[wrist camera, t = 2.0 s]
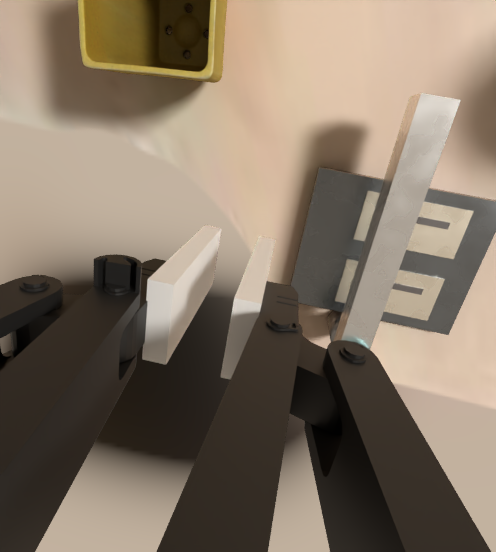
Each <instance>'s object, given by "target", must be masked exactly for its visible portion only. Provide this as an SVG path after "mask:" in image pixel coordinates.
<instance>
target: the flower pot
mask: <svg viewBox="0 0 496 552" xmlns="http://www.w3.org/2000/svg"><path fill="white" fill-rule="evenodd" d="M187 5H191V6H192V11H191V12H190V13H188V12H187V11H186V6H187ZM226 9H227V0H78V18H79V39H80V50H81V57H82V62H83V65H84V66H86V67H88V68H92V69H100V70H107V71H114V72H120V73H126V74H139V75H151V76H161V77H170V78H179V79H188V80H196V81H205V82H218V81H219V80H220V79H221V77H222V71H223V52H224V35H225V22H226ZM168 26H169V27H171V28H172V33H171V34H167V33H166V28H167V27H168ZM205 30H209V37H208V38H206V37H205V36H204V31H205ZM185 51H189V52H190V58H188V59H187V58H185V57H184V53H185Z"/></svg>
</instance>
